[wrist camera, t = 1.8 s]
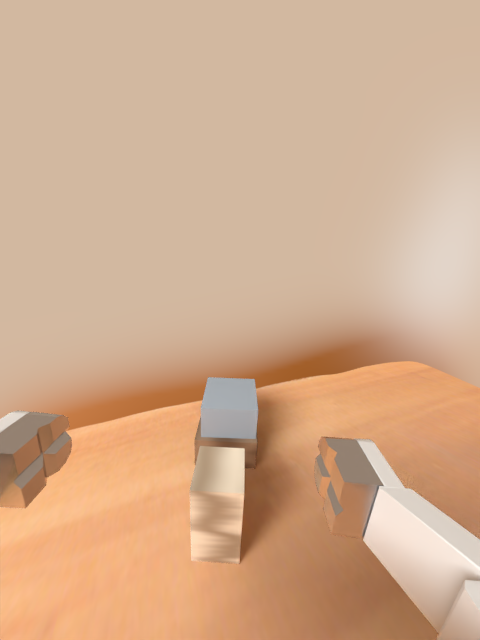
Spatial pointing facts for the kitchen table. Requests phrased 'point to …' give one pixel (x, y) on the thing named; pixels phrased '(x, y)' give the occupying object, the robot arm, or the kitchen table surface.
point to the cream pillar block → (217, 504)
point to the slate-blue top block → (229, 408)
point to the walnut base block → (229, 446)
